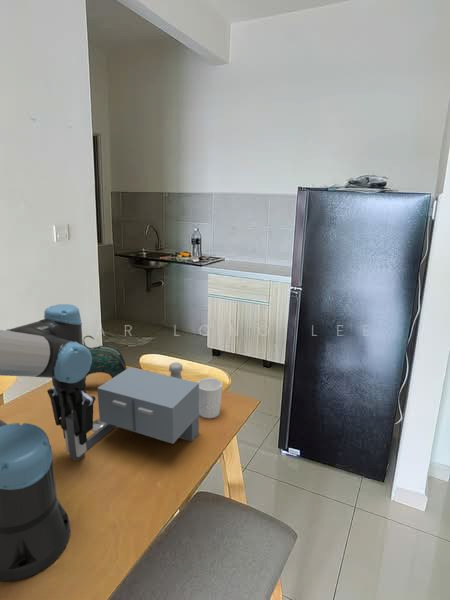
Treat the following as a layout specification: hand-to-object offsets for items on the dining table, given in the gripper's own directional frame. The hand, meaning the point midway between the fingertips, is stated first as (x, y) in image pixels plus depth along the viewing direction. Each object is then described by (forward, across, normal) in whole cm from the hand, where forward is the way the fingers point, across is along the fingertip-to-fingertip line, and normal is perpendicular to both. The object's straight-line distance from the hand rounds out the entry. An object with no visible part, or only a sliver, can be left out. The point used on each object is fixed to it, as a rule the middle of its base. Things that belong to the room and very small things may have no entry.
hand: (76, 451), depth 97 cm
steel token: (+2, +3, -13) cm, 14 cm away
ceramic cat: (+2, +19, -30) cm, 35 cm away
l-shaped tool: (+1, 0, -8) cm, 8 cm away
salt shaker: (+2, -9, -35) cm, 36 cm away
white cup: (+2, -22, -33) cm, 40 cm away
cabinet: (+2, -12, -15) cm, 20 cm away
